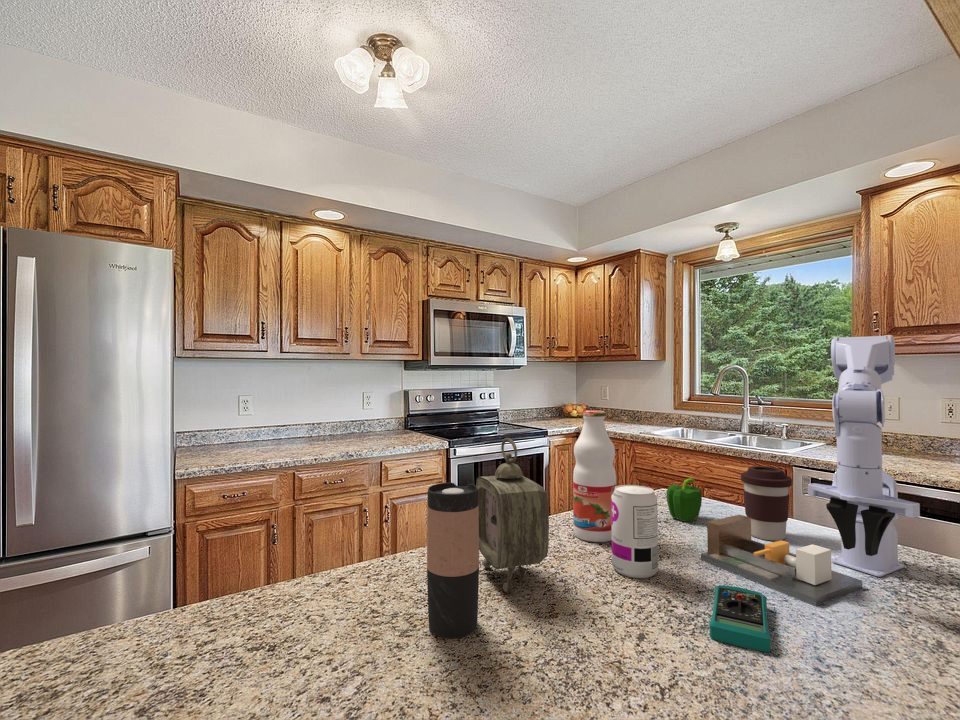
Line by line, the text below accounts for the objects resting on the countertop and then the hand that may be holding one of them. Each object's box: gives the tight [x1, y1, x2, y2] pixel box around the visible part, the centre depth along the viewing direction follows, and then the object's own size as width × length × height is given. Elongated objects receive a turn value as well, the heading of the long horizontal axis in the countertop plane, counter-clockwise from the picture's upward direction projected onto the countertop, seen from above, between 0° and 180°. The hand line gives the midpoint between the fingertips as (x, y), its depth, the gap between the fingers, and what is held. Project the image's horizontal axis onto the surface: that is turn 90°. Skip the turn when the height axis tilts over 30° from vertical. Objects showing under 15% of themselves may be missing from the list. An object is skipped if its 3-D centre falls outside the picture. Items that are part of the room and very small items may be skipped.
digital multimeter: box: [709, 584, 771, 653], centre depth 72 cm, size 7×15×3 cm, turn 151°
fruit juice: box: [572, 409, 617, 543], centre depth 110 cm, size 9×9×28 cm
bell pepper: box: [666, 477, 703, 522], centre depth 122 cm, size 8×8×10 cm
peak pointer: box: [753, 540, 791, 564], centre depth 88 cm, size 2×9×4 cm, turn 118°
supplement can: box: [611, 484, 659, 579], centre depth 91 cm, size 8×8×15 cm
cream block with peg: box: [784, 543, 833, 585], centre depth 85 cm, size 6×5×5 cm
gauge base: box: [700, 514, 863, 607], centre depth 89 cm, size 21×14×7 cm, turn 28°
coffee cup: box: [740, 465, 793, 542], centre depth 109 cm, size 10×10×15 cm
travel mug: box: [426, 482, 480, 639], centre depth 71 cm, size 8×8×20 cm
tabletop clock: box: [475, 437, 550, 593], centre depth 88 cm, size 14×9×25 cm, turn 18°
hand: (860, 551), depth 78 cm, fingers open, 2 cm apart
